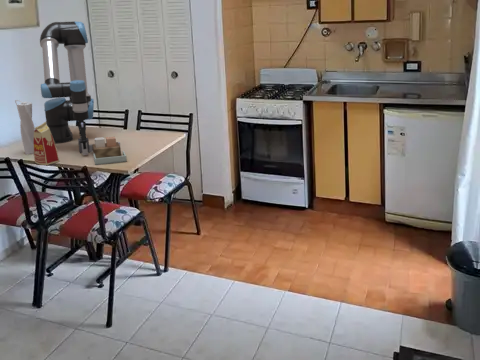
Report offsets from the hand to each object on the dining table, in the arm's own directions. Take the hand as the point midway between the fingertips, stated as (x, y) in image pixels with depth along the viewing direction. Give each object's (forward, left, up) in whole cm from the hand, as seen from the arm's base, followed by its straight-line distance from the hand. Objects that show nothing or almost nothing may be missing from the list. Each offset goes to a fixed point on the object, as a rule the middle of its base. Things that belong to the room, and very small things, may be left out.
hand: (84, 151), depth 294 cm
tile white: (+8, -10, +5) cm, 14 cm away
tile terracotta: (+13, -11, +5) cm, 18 cm away
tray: (+11, -21, 0) cm, 24 cm away
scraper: (+8, 0, 0) cm, 8 cm away
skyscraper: (-27, +9, 0) cm, 28 cm away
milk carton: (-19, -13, 0) cm, 23 cm away
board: (+11, -10, 0) cm, 15 cm away
